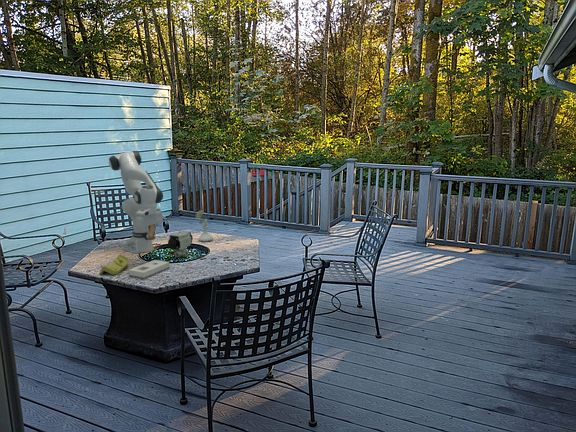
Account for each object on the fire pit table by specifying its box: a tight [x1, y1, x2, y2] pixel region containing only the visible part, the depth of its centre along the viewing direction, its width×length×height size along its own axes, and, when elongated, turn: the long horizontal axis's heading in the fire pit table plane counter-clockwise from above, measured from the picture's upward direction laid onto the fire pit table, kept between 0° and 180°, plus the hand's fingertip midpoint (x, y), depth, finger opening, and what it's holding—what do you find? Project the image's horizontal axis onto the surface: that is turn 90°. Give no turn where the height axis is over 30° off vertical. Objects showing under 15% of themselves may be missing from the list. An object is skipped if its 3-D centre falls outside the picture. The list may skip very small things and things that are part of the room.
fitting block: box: [128, 259, 170, 280], centre depth 265 cm, size 22×12×4 cm, turn 153°
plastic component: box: [99, 254, 130, 276], centre depth 270 cm, size 20×7×10 cm
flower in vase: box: [195, 209, 214, 242], centre depth 335 cm, size 13×11×25 cm
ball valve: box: [167, 230, 193, 258], centre depth 296 cm, size 18×8×18 cm, turn 154°
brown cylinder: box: [148, 224, 156, 241], centre depth 280 cm, size 4×4×10 cm
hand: (151, 231), depth 280 cm, fingers closed on brown cylinder, 4 cm apart
